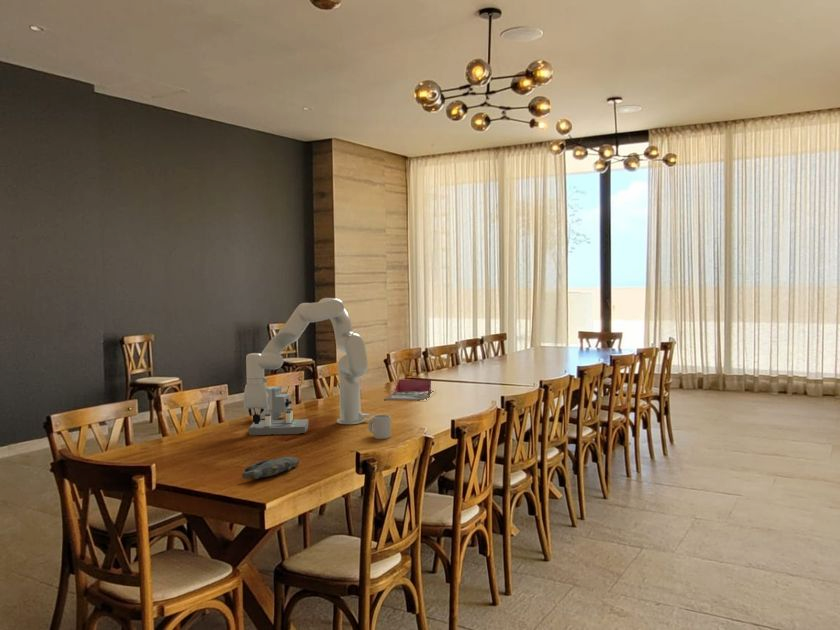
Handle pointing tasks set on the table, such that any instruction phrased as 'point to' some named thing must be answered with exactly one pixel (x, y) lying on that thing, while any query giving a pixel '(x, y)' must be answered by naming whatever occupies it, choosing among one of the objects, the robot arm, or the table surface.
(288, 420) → the middle lever
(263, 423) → the switch panel
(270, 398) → the circuit breaker
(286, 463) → the grey rough slab
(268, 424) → the lever
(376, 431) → the cup
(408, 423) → the table surface
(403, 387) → the open laptop
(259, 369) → the robot arm
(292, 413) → the back lever
